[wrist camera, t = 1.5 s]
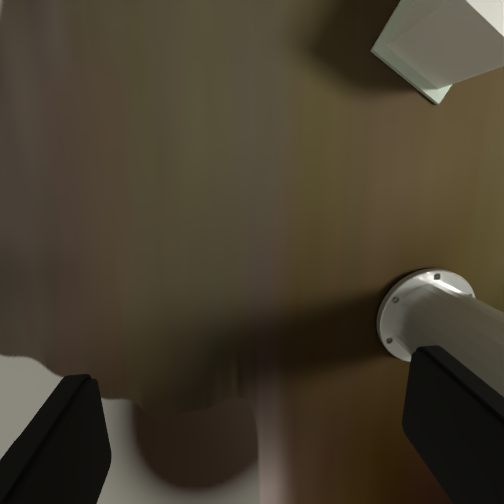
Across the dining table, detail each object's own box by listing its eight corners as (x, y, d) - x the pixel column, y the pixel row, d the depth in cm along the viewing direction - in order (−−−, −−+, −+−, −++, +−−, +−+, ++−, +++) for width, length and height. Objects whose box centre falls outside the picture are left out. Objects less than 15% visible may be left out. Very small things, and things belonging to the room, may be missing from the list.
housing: (482, 20, 29) (595, -41, 20) (438, 89, 30) (526, 58, 22) (431, -29, 27) (529, -119, 19) (386, 45, 29) (459, -7, 20)
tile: (492, 19, 29) (527, 0, 26) (436, 104, 31) (462, 97, 28) (426, -45, 27) (455, -73, 24) (370, 50, 29) (389, 36, 26)
